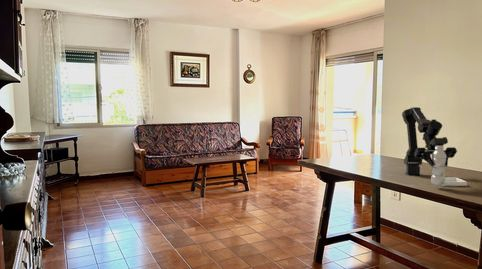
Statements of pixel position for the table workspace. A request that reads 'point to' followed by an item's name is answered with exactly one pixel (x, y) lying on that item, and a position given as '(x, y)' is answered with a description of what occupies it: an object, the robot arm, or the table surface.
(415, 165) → the robot arm
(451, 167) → the table surface
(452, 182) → the tray
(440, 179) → the plastic bottle
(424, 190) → the table surface
